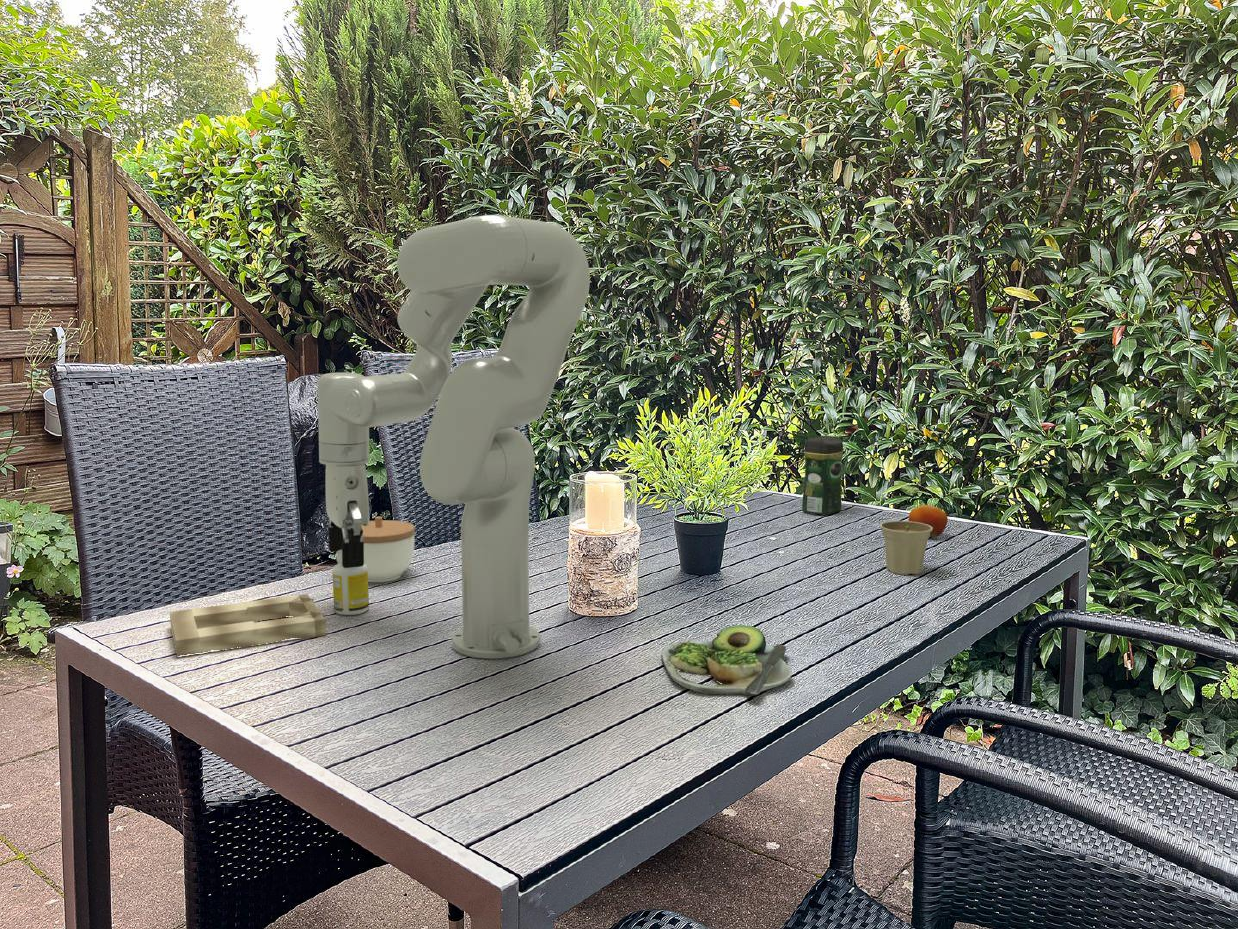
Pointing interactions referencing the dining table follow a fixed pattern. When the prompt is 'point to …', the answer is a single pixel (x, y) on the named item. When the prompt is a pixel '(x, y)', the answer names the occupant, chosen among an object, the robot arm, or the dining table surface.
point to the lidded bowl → (387, 548)
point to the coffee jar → (822, 475)
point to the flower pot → (905, 545)
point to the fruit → (930, 518)
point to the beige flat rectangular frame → (245, 624)
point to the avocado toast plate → (729, 662)
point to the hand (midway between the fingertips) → (346, 558)
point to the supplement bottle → (350, 588)
